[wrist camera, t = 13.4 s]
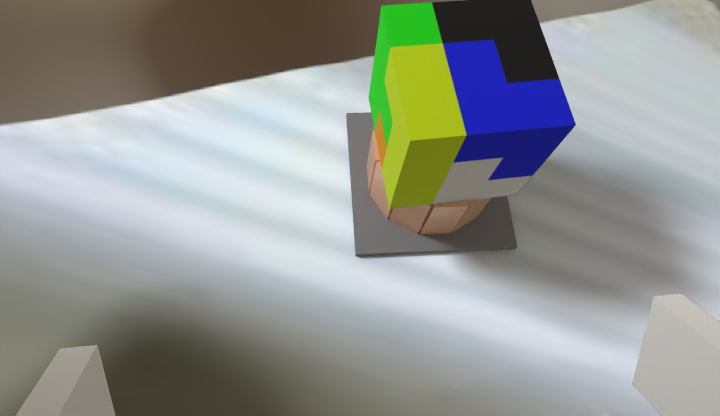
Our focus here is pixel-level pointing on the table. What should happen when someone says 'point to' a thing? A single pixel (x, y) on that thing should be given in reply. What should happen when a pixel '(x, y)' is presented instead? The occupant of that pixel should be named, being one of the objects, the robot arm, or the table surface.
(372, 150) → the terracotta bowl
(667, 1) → the table surface
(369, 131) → the rubber mat
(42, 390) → the robot arm
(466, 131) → the puzzle toy
